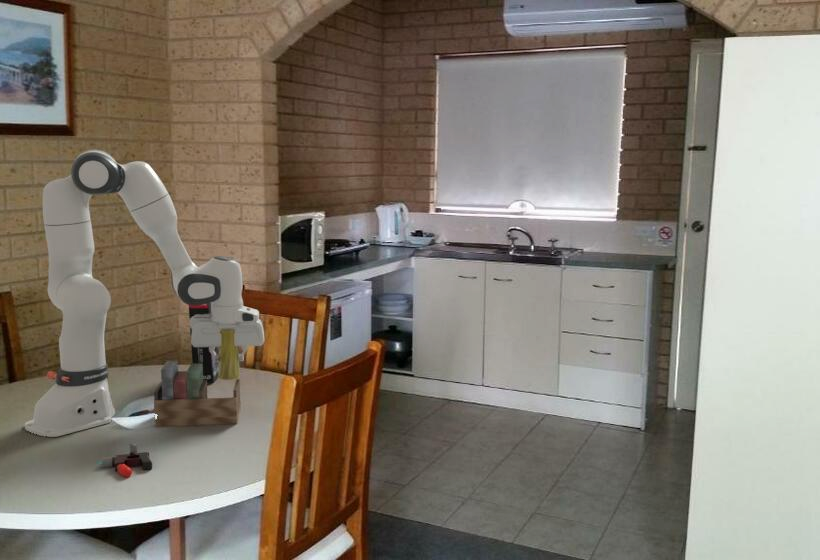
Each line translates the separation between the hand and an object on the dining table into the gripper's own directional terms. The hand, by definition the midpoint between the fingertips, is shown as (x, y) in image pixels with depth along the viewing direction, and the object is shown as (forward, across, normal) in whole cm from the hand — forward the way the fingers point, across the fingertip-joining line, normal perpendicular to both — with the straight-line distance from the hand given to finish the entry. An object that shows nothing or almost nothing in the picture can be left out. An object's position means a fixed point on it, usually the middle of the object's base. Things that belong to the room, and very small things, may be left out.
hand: (228, 361), depth 216 cm
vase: (+5, 0, 0) cm, 5 cm away
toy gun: (+13, -19, -45) cm, 50 cm away
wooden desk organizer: (+12, -7, -13) cm, 19 cm away
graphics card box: (+12, -9, +25) cm, 29 cm away
